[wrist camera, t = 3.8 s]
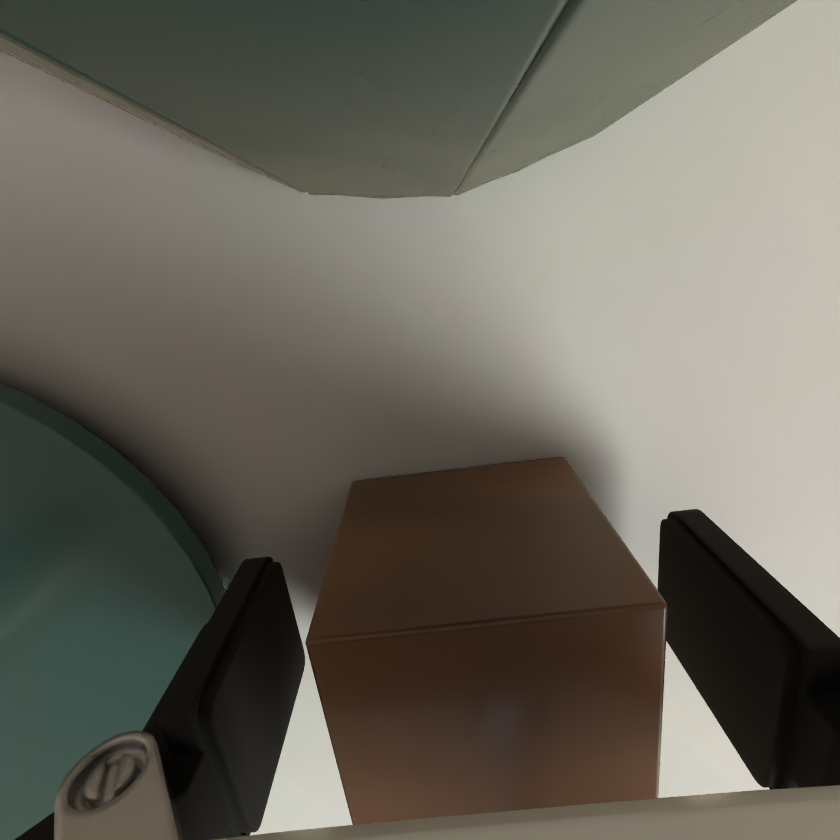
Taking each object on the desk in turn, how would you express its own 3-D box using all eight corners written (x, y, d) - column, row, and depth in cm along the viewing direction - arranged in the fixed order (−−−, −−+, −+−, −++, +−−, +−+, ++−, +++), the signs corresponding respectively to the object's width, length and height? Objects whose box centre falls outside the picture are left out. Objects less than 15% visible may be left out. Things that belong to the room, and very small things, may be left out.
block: (383, 646, 13) (363, 871, 8) (350, 480, 11) (303, 641, 7) (569, 627, 13) (657, 847, 8) (564, 455, 11) (670, 604, 6)
